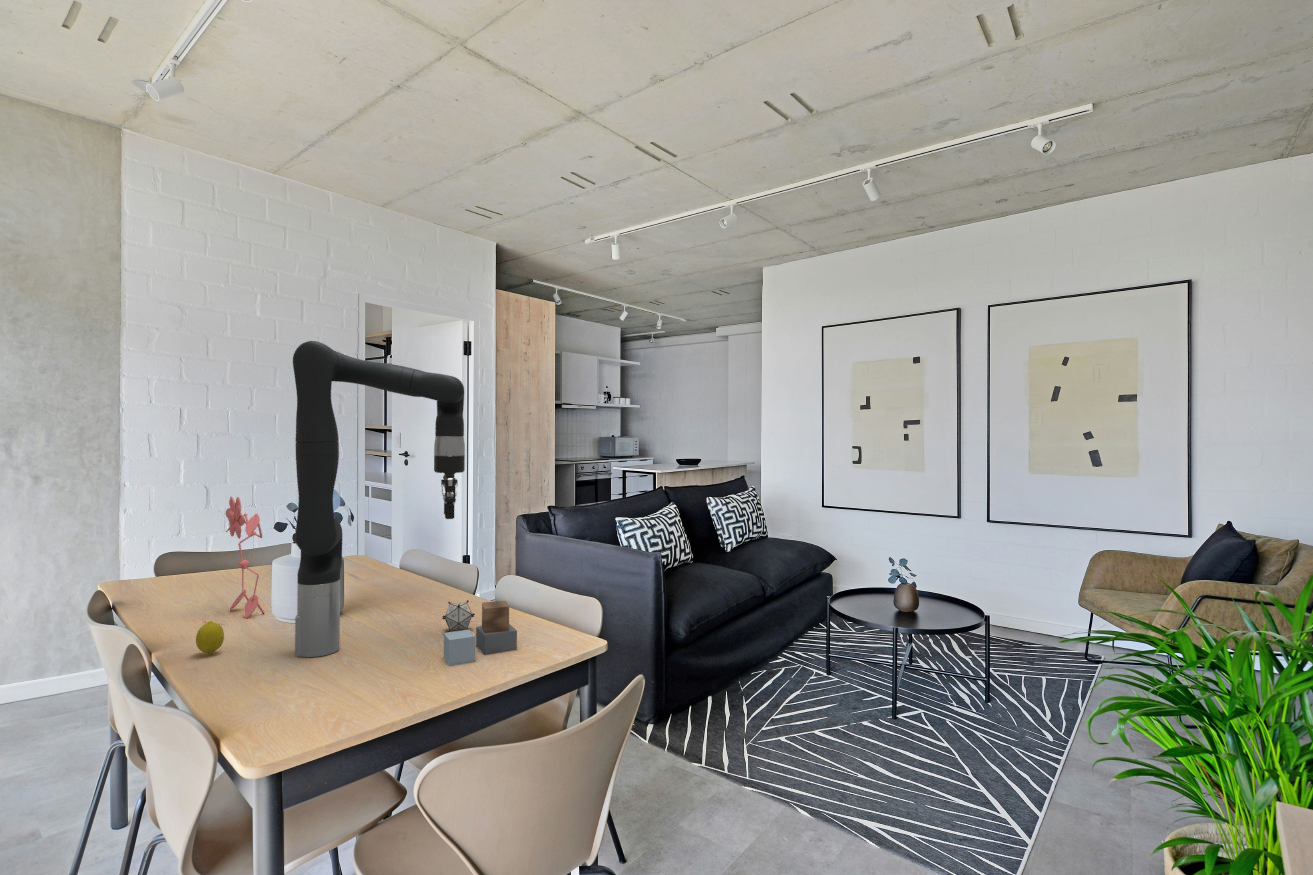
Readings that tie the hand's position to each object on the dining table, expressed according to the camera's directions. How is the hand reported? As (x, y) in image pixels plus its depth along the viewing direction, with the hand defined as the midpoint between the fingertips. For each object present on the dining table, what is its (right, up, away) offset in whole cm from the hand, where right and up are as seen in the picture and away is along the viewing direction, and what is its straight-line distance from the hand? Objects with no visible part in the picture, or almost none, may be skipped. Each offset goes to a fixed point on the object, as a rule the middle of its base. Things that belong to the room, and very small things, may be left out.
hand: (448, 516), depth 163 cm
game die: (0, -32, +9) cm, 33 cm away
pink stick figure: (-70, -32, +21) cm, 80 cm away
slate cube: (+7, -32, -13) cm, 36 cm away
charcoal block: (+13, -33, -5) cm, 35 cm away
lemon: (-54, -32, -11) cm, 63 cm away
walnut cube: (+13, -27, -5) cm, 31 cm away
